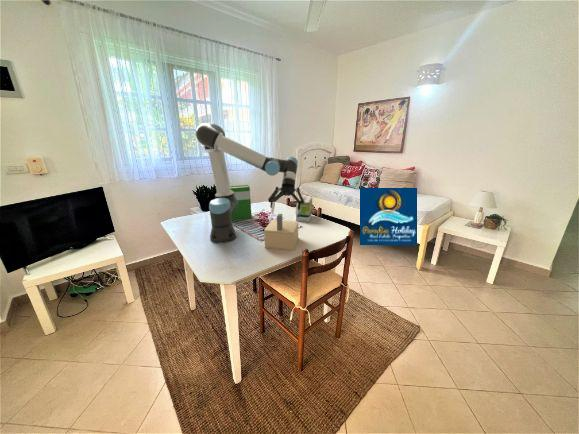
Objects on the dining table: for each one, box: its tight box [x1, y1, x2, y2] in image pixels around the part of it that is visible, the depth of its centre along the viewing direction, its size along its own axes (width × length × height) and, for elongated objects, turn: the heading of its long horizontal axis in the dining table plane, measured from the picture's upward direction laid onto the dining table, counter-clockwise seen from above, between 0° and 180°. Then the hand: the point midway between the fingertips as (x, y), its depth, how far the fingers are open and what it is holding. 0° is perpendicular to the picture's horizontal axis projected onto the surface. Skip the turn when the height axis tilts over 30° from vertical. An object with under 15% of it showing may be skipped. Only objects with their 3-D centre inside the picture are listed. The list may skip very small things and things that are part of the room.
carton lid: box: [263, 213, 299, 234], centre depth 125 cm, size 16×16×9 cm
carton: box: [263, 224, 299, 251], centre depth 129 cm, size 16×16×10 cm
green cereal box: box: [230, 184, 253, 222], centre depth 166 cm, size 18×7×24 cm, turn 107°
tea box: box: [295, 196, 313, 223], centre depth 166 cm, size 15×10×15 cm
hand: (284, 213), depth 123 cm, fingers open, 13 cm apart
